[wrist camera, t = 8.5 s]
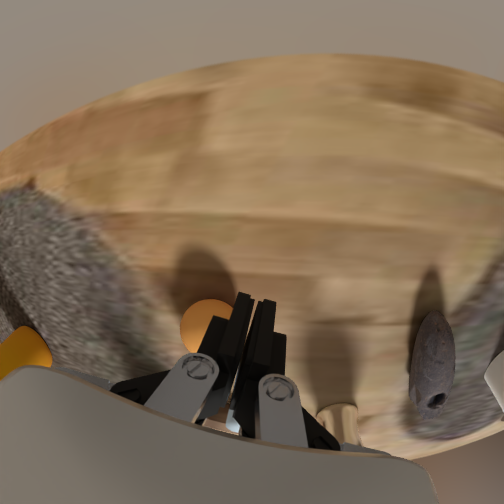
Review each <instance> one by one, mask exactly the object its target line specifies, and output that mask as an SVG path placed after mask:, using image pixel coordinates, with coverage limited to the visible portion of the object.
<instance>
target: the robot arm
mask: <svg viewBox="0 0 504 504" xmlns="http://www.w3.org/2000/svg"><path fill="white" fill-rule="evenodd" d="M250 297H251V295H249V294H245V293H242V292H239V293H238V296H237V298H236V301H235V304H234V307H233V310H232V313H231V316H230V319H225V318H222V317H219V316H215V315H213V317H212V319H211V321H210V323H209V326H208V328H207V330H206V332H205V335H204V337H203V339H202V342H201V344H200V346H199V349H198V351H197V353H188V354H186V355H184V356H182V357H181V358H180V359H179V360H178V362H177V363H176V364H175V366H174V367H173V368H172V369H171V370H168V371H164V372H160V373H156V374H152V375H147V376H143V377H139V378H134V379H130V380H125V381H121V382H118V383H116V384H113V383H110V381H109V380H107V379H103V378H100V377H96V376H92V375H89V374H85V373H82V372H78V371H75V370H72V369H69V368H64V367H57V368H50V367H45V366H40V365H25V366H21V367H19V368H17V369H15V370H13V371H12V372H10V373H9V374H8V375H7V376H5V377H4V378H3V379H2V380H1V381H0V504H439V502H438V497H437V494H436V490H435V487H434V484H433V481H432V479H431V477H430V475H429V473H428V472H427V470H426V469H425V468H423V467H422V466H420V465H419V464H417V463H415V462H413V461H410V460H407V459H404V458H400V457H396V456H391V455H390V454H389V453H386V452H383V451H379V450H374V449H370V448H366V447H362V446H358V445H354V444H351V443H347V442H344V443H343V444H341V443H339V442H338V441H337V439H336V438H335V437H334V436H333V435H332V434H331V433H330V432H329V431H327V430H326V429H325V428H324V427H323V426H322V425H321V424H320V423H319V422H318V421H317V420H316V419H315V418H313V417H312V416H311V415H310V414H309V413H308V412H307V411H306V410H305V409H304V408H303V407H302V406H301V402H300V396H299V390H298V388H297V385H296V384H295V383H294V382H293V381H292V380H291V379H290V378H288V377H286V376H285V359H286V335H285V334H281V333H277V332H273V331H274V322H275V312H276V302H274V301H271V300H267V299H264V301H263V302H262V301H258V304H257V307H256V310H255V314H254V317H253V320H252V323H251V326H250V330H249V333H248V336H247V339H246V335H247V331H248V327H249V322H250V318H251V314H252V310H253V305H254V301H255V300H254V299H251V298H250ZM245 339H246V342H245ZM244 343H245V345H244ZM243 348H244V349H243ZM242 352H243V353H242ZM241 356H242V357H241ZM240 359H241V361H240ZM239 363H240V365H239ZM238 366H239V369H238ZM237 369H238V373H237V377H236V382H235V386H234V390H233V394H232V398H231V402H230V406H229V409H230V410H234V411H233V416H232V418H234V419H235V420H236V421H237V423H238V424H239V425H240V427H239V436H238V435H234V434H230V433H226V432H222V431H218V430H215V429H211V428H207V427H204V424H205V422H206V419H207V418H208V417H211V416H213V415H216V414H218V411H219V407H223V408H225V406H226V403H227V400H228V397H229V394H230V390H231V387H232V384H233V381H234V378H235V375H236V372H237Z"/></svg>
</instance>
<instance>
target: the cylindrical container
mask: <svg viewBox="0 0 504 504" xmlns="http://www.w3.org/2000/svg"><path fill="white" fill-rule="evenodd" d="M484 378H485V380H486V382H487V384H488V385H489V387H490V389H491V390H492V392H493V394H494V396H495V397H496V399H497V401H498V403H499V404H500V406H501V408H502V410H503V412H504V351H502V352H501V353H500V354H499V355H498V356H496V357H495V359H494V360H493V361H492V362H491V363H490V365H489V366H488V368H487V370H486V372H485V375H484Z"/></svg>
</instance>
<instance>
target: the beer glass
mask: <svg viewBox="0 0 504 504" xmlns="http://www.w3.org/2000/svg"><path fill="white" fill-rule="evenodd" d="M316 420H317V421H318V422H319V423H320V424H321V425H322V426H323V427H324V428H325V429H326V430H327V431H329V432H330V433H331V434H332V435H333V436H334V437H335V438H336V439H337V441H338V442H339V443H341V444H343V443H344V442H347V443H351V444H354V445H358V446H362V447H364V445H363V443H362V440H361V437H360V435H359V431H358V409H357V408H356V407H355V406H354V405H352V404H348V403H338V404H333V405H330V406H327V407H325V408H323V409H322V410H321V411H320V412H319V413H318V414H317V416H316Z"/></svg>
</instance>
